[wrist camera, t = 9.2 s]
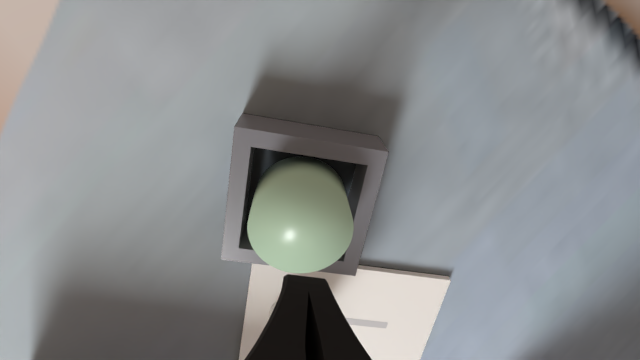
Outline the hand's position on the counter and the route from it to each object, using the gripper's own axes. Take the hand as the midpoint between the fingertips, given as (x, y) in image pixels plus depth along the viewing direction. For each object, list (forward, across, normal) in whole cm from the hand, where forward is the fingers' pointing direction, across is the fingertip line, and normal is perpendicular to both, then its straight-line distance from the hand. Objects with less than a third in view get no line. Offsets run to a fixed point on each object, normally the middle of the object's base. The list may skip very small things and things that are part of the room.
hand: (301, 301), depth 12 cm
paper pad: (+9, -4, +9) cm, 13 cm away
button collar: (+9, 0, 0) cm, 9 cm away
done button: (+7, 0, 0) cm, 7 cm away
